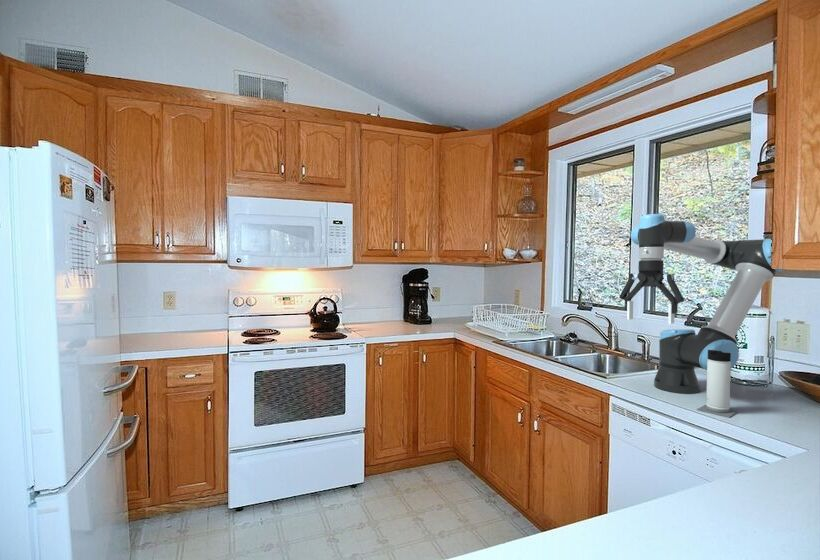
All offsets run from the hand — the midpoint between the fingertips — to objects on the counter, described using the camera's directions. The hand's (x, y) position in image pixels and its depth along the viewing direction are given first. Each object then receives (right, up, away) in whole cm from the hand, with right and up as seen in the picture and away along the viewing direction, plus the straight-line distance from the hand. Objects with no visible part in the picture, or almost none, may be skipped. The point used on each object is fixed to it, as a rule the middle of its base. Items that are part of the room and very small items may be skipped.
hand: (649, 321), depth 149 cm
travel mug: (+18, -29, -7) cm, 35 cm away
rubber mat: (+18, -29, -7) cm, 35 cm away
